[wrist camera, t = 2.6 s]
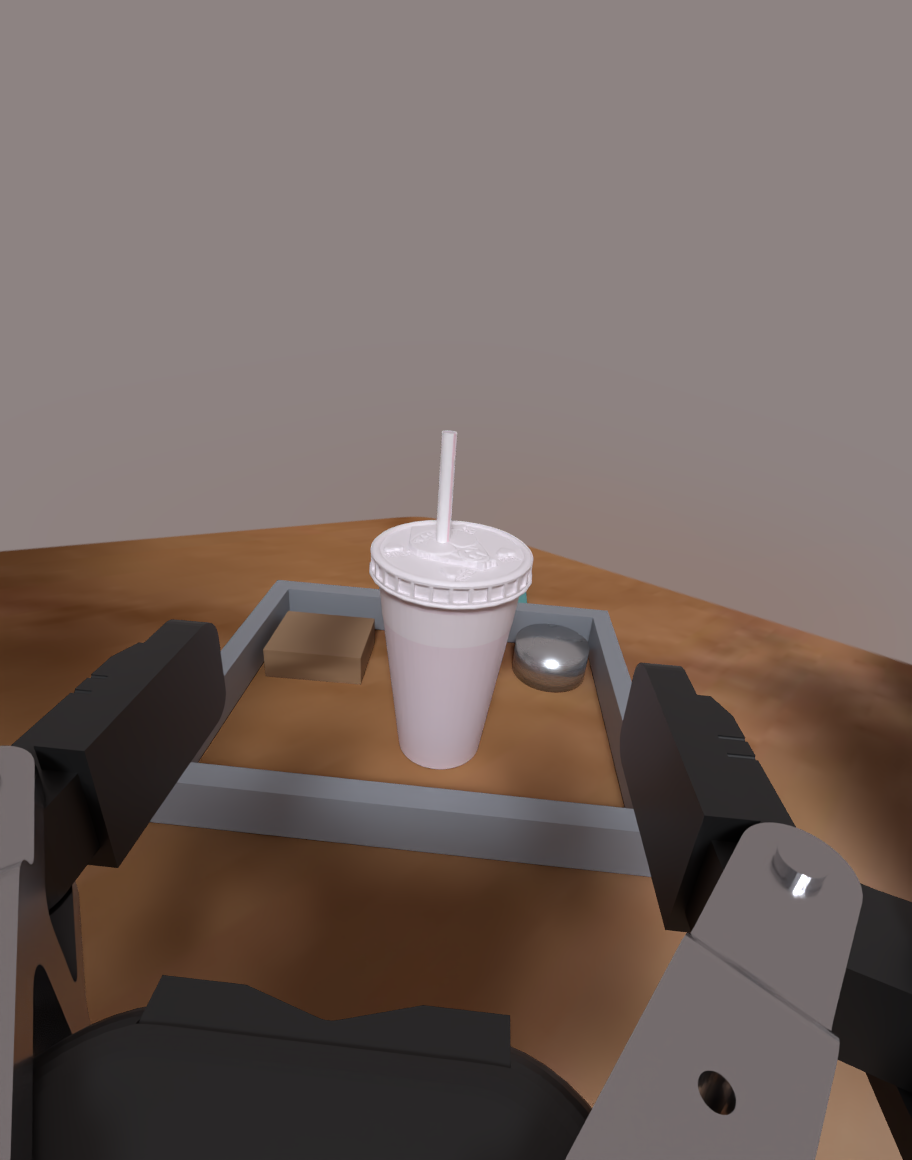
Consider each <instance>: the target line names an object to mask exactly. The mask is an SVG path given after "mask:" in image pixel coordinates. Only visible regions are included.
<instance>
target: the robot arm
mask: <svg viewBox="0 0 912 1160" xmlns="http://www.w3.org/2000/svg"><path fill="white" fill-rule="evenodd" d="M91 675H92V676H91V678H87V679H86V680H84V681H83V682H82V683H81V684H80V685H79V686H78V687H77V688H75V692H74V693H70V694H69V695H68V696H66V697H65V698H64V699H63V700H62V701H61V702H60V703H58V704H57V705H56V706H55V707H54V708H53V709H52V710H51V711H49V712H48V713H47V714H46V715H45V716H44V717H43V718H42V719H40V720H39V721H38V722H37V723H36V724H35V725H34V726H33V727H31V728H30V729H29V730H28V731H27V732H26V733H25V734H24V735H22V736H21V737H20V738H19V739H18V740H17V741H16V742H15V743H13V744H12V745H11V746H0V1160H815V1157H816V1153H817V1148H818V1144H819V1140H820V1135H821V1131H822V1126H823V1122H824V1117H825V1113H826V1109H827V1104H828V1100H829V1095H830V1091H831V1086H832V1082H833V1078H834V1073H835V1069H836V1064H837V1059H838V1060H840V1061H842V1062H844V1063H846V1064H849V1065H851V1066H853V1067H855V1068H857V1069H860V1070H862V1071H864V1072H866V1075H867V1077H868V1079H869V1082H870V1084H871V1086H872V1089H873V1091H874V1093H875V1096H876V1098H877V1100H878V1103H879V1105H880V1107H881V1110H882V1112H883V1114H884V1117H885V1119H886V1121H887V1124H888V1126H889V1128H890V1131H891V1133H892V1135H893V1138H894V1140H895V1142H896V1145H897V1147H898V1149H899V1152H900V1154H901V1156H902V1159H903V1160H912V902H909V901H906V900H904V899H901V898H898V897H895V896H892V895H889V894H887V893H884V892H881V891H878V890H875V889H873V888H870V887H868V886H865V885H863V884H861V883H860V882H859V880H858V878H857V876H856V874H855V873H854V871H853V869H852V868H851V867H850V866H849V864H848V863H847V862H846V861H845V860H844V859H843V858H842V857H841V856H840V854H838V853H837V852H836V851H835V850H834V849H833V848H831V847H830V846H829V845H827V844H826V843H825V842H823V841H822V840H820V839H818V838H817V837H815V836H813V835H812V834H810V833H807V832H805V831H803V830H801V829H798V828H796V826H795V825H794V823H793V821H792V819H791V818H790V816H789V814H788V812H787V811H786V809H785V807H784V805H783V804H782V802H781V800H780V798H779V797H778V795H777V793H776V791H775V789H774V788H773V786H772V784H771V782H770V781H769V779H768V777H767V775H766V774H765V772H764V770H763V768H762V767H761V765H760V763H759V761H758V760H755V754H754V752H753V751H752V749H751V747H750V745H749V744H748V742H745V737H744V735H743V733H742V731H741V730H740V728H739V726H738V724H737V723H736V721H735V719H734V717H733V716H732V715H731V714H730V713H729V712H728V711H727V710H725V709H724V708H723V707H722V706H721V705H720V704H719V703H718V702H716V701H715V700H714V699H713V698H712V697H711V696H702V695H697V694H696V692H695V690H694V688H693V686H692V684H691V682H690V680H689V678H688V676H687V674H686V672H685V670H684V669H683V668H682V667H681V666H672V665H661V664H650V663H639V664H638V665H637V667H636V669H635V672H634V675H633V680H632V684H631V688H630V692H629V697H628V701H627V705H626V710H625V714H624V718H623V722H622V727H621V733H620V758H621V763H622V767H623V771H624V775H625V779H626V783H627V786H628V790H629V794H630V798H631V802H632V805H633V809H634V813H635V817H636V821H637V824H638V828H639V832H640V836H641V840H642V843H643V847H644V851H645V855H646V859H647V862H648V866H649V870H650V874H651V878H652V881H653V885H654V889H655V893H656V897H657V900H658V904H659V908H660V912H661V916H662V919H663V923H664V927H665V930H672V931H681V932H687V933H686V935H685V936H684V938H683V939H682V941H681V943H680V945H679V947H678V948H677V950H676V952H675V954H674V956H673V958H672V960H671V962H670V963H669V965H668V967H667V969H666V971H665V973H664V975H663V977H662V978H661V980H660V982H659V984H658V986H657V988H656V990H655V992H654V993H653V995H652V997H651V999H650V1001H649V1003H648V1005H647V1007H646V1009H645V1010H644V1012H643V1014H642V1016H641V1018H640V1020H639V1022H638V1024H637V1025H636V1027H635V1029H634V1031H633V1033H632V1035H631V1037H630V1039H629V1040H628V1042H627V1044H626V1046H625V1048H624V1050H623V1052H622V1054H621V1056H620V1057H619V1059H618V1061H617V1063H616V1065H615V1067H614V1069H613V1071H612V1072H611V1074H610V1076H609V1078H608V1080H607V1082H606V1084H605V1086H604V1087H603V1089H602V1091H601V1093H600V1095H599V1097H598V1099H597V1101H596V1103H595V1104H594V1106H593V1108H591V1107H590V1105H589V1104H588V1103H587V1102H586V1101H585V1100H584V1099H583V1098H582V1097H581V1096H580V1095H579V1094H578V1093H577V1092H576V1091H575V1090H574V1089H573V1088H572V1087H571V1086H570V1085H569V1084H568V1083H567V1082H566V1081H565V1080H564V1079H562V1078H561V1077H560V1076H559V1075H557V1074H556V1073H555V1072H554V1071H552V1070H551V1069H550V1068H549V1067H547V1066H546V1065H544V1064H543V1063H541V1062H539V1061H538V1060H536V1059H534V1058H533V1057H531V1056H530V1055H528V1054H526V1053H524V1052H522V1051H520V1050H517V1049H515V1048H513V1047H511V1046H510V1015H502V1014H494V1013H485V1012H476V1011H468V1010H459V1009H451V1008H442V1007H433V1006H425V1005H422V1006H416V1007H411V1008H405V1009H399V1010H393V1011H388V1012H382V1013H376V1014H370V1015H365V1016H359V1017H353V1018H348V1019H342V1020H334V1021H329V1020H323V1019H320V1018H318V1017H316V1016H313V1015H311V1014H309V1013H307V1012H305V1011H302V1010H300V1009H298V1008H296V1007H294V1006H291V1005H289V1004H287V1003H285V1002H283V1001H281V1000H278V999H276V998H274V997H272V996H270V995H267V994H265V993H263V992H261V991H259V990H257V989H254V988H252V987H250V986H248V985H244V984H235V983H226V982H218V981H209V980H200V979H192V978H183V977H175V976H166V975H162V977H161V979H160V981H159V983H158V985H157V987H156V989H155V991H154V993H153V995H152V997H151V999H150V1001H149V1003H148V1005H147V1007H142V1008H137V1009H133V1010H130V1011H127V1012H123V1013H120V1014H116V1015H113V1016H111V1017H108V1018H106V1019H104V1020H101V1021H99V1022H96V1023H94V1024H91V1023H90V1019H89V1014H88V1008H87V1001H86V991H85V976H84V962H83V947H82V932H81V917H80V902H79V892H78V887H77V884H76V881H75V880H76V879H77V878H78V876H79V875H80V874H81V872H82V871H83V870H84V868H85V867H86V866H87V865H95V866H105V867H114V868H118V867H119V866H120V864H121V863H122V861H123V860H124V858H125V857H126V856H127V854H128V853H129V851H130V850H131V848H132V847H133V845H134V844H135V842H136V841H137V840H138V838H139V837H140V835H141V834H142V832H143V831H144V829H145V828H146V827H147V825H148V824H149V822H150V821H151V819H152V818H153V816H154V815H155V813H156V812H157V811H158V809H159V808H160V806H161V805H162V803H163V802H164V800H165V799H166V797H167V796H168V795H169V793H170V792H171V790H172V789H173V787H174V786H175V784H176V783H177V781H178V780H179V779H180V777H181V776H182V774H183V773H184V771H185V770H186V768H187V767H188V766H189V764H190V763H191V761H192V760H193V758H194V757H195V755H196V754H197V752H198V751H199V750H200V748H201V747H202V745H203V744H204V742H205V741H206V739H207V738H208V736H209V735H210V734H211V732H212V731H213V729H214V728H215V726H216V725H217V723H218V722H219V720H220V718H221V716H222V713H223V710H224V706H225V700H226V687H225V680H224V673H223V666H222V659H221V652H220V644H219V637H218V632H217V629H216V627H215V626H214V625H213V624H212V623H207V622H196V621H184V620H169V621H167V622H166V623H165V624H164V625H163V626H162V627H161V628H160V629H158V630H157V631H156V632H155V633H154V634H153V635H152V636H151V637H150V638H149V639H148V640H147V641H146V642H144V643H137V644H135V645H133V646H131V647H129V648H127V649H125V650H123V651H121V652H119V653H117V654H116V655H114V656H112V657H110V658H109V659H108V660H107V661H106V662H105V663H104V664H102V665H101V666H100V667H99V668H98V669H97V670H96V671H95V672H93V673H92V674H91ZM689 932H690V933H689Z"/></svg>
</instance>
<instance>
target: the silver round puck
mask: <svg viewBox="0 0 912 1160" xmlns="http://www.w3.org/2000/svg"><path fill="white" fill-rule="evenodd" d="M589 649H590V648H589V644H588V642H587V640H586V639H585V638H584V637H583V636H582V635H580V634H579V633H577V632H576V631H574V630H572V629H569V628H567V627H564V626H560V625H555V624H545V623H544V624H533V625H529V626H526V627H524V628H522V629H521V630H520V631H519V632H518V633H517V636H516V642H515V649H514V657H513V664H512V669H513V672H514V674H515V675H516V677H517V678H518V679H519V680H520V681H522V682H523V683H524V684H526V685H528V686H530V687H532V688H535V689H537V690H541V691H545V692H555V693H556V692H567V691H570V690H573V689H575V688H577V687H578V686H579V685H580V684H581V683H582V682H583V679H584V674H585V669H586V664H587V660H588V655H589Z"/></svg>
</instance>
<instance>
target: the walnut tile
mask: <svg viewBox="0 0 912 1160" xmlns="http://www.w3.org/2000/svg"><path fill="white" fill-rule="evenodd" d="M374 643H375V619H373V618H362V617H351V616H340V615H328V614H317V613H306V612H295V611H288V612H287V613H286V615H285V616H284V618H283V619H282V621H281V623H280V624H279V626H278V627H277V629H276V630H275V632H274V634H273V635H272V637H271V638H270V640H269V641H268V643H267V644H266V646H265V648H264V649H263V653H264V663H265V674H266V676H269V677H280V678H292V679H303V680H314V681H326V682H337V683H349V684H360V685H361V682H362V679H363V676H364V673H365V670H366V667H367V664H368V661H369V658H370V655H371V652H372V649H373V646H374Z"/></svg>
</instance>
